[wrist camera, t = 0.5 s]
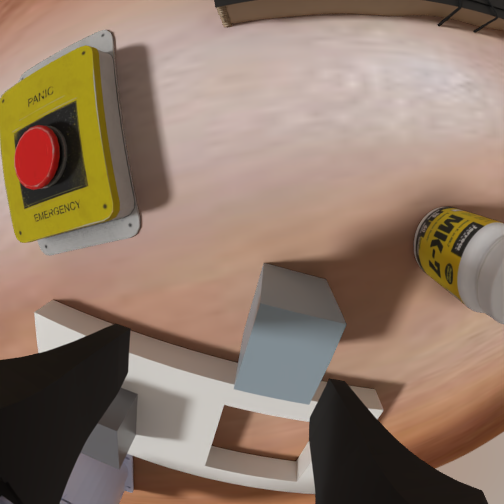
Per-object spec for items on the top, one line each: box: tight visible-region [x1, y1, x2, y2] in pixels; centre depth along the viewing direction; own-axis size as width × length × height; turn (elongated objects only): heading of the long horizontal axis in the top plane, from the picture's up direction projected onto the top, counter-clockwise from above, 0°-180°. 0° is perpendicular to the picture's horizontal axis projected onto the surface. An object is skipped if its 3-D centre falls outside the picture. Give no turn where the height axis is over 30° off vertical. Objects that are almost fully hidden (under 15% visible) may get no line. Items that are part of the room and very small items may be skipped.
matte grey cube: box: [81, 388, 138, 470], centre depth 18 cm, size 5×4×4 cm
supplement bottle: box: [414, 207, 504, 324], centre depth 14 cm, size 5×5×8 cm
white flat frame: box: [34, 300, 383, 494], centre depth 21 cm, size 12×26×3 cm, turn 75°
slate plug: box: [234, 263, 346, 405], centre depth 17 cm, size 5×4×6 cm
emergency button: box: [0, 30, 140, 255], centre depth 16 cm, size 9×4×15 cm
